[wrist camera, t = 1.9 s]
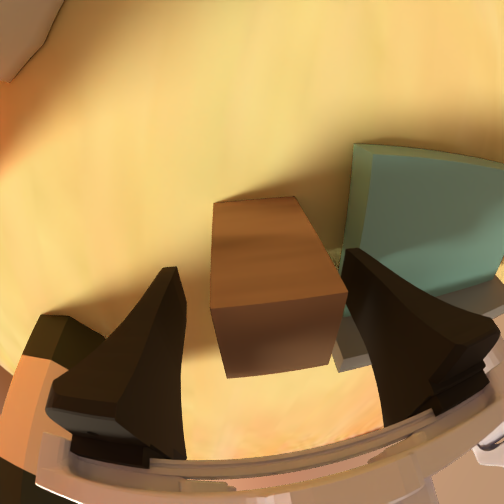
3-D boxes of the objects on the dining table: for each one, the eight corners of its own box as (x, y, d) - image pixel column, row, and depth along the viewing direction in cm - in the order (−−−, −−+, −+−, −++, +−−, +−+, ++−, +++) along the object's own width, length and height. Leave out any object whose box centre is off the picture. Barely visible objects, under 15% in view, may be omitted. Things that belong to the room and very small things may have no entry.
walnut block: (292, 261, 16) (328, 364, 10) (222, 268, 15) (227, 378, 10) (294, 196, 13) (348, 291, 8) (213, 203, 13) (209, 308, 7)
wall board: (480, 277, 19) (508, 310, 15) (317, 313, 18) (338, 372, 14) (517, 167, 13) (558, 195, 9) (335, 142, 12) (390, 178, 8)
